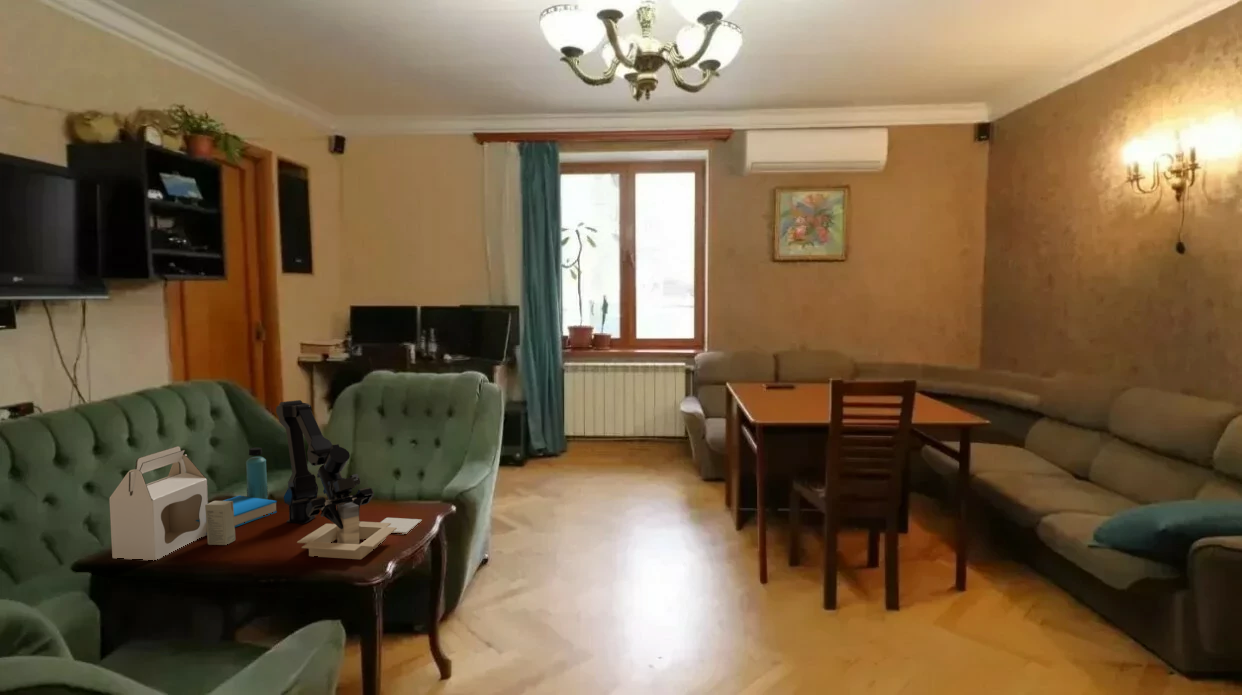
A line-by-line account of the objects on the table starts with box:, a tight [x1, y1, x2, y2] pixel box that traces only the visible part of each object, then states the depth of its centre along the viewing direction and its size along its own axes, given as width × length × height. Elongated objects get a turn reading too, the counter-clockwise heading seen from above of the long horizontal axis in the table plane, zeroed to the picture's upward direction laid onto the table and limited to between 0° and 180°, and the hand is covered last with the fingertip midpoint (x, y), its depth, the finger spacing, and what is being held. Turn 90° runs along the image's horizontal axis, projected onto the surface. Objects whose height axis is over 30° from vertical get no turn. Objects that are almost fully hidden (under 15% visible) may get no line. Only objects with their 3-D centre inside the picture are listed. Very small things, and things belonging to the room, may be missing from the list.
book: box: [196, 495, 278, 534], centre depth 230 cm, size 17×4×25 cm
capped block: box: [336, 502, 360, 545], centre depth 207 cm, size 4×4×12 cm
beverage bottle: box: [245, 447, 269, 500], centre depth 246 cm, size 6×7×20 cm
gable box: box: [108, 446, 209, 562], centre depth 206 cm, size 22×13×28 cm, turn 173°
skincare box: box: [205, 500, 236, 546], centre depth 210 cm, size 6×4×12 cm
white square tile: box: [379, 517, 423, 535], centre depth 226 cm, size 12×12×1 cm
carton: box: [296, 520, 397, 560], centre depth 208 cm, size 23×23×4 cm
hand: (350, 526), depth 206 cm, fingers closed on capped block, 4 cm apart
